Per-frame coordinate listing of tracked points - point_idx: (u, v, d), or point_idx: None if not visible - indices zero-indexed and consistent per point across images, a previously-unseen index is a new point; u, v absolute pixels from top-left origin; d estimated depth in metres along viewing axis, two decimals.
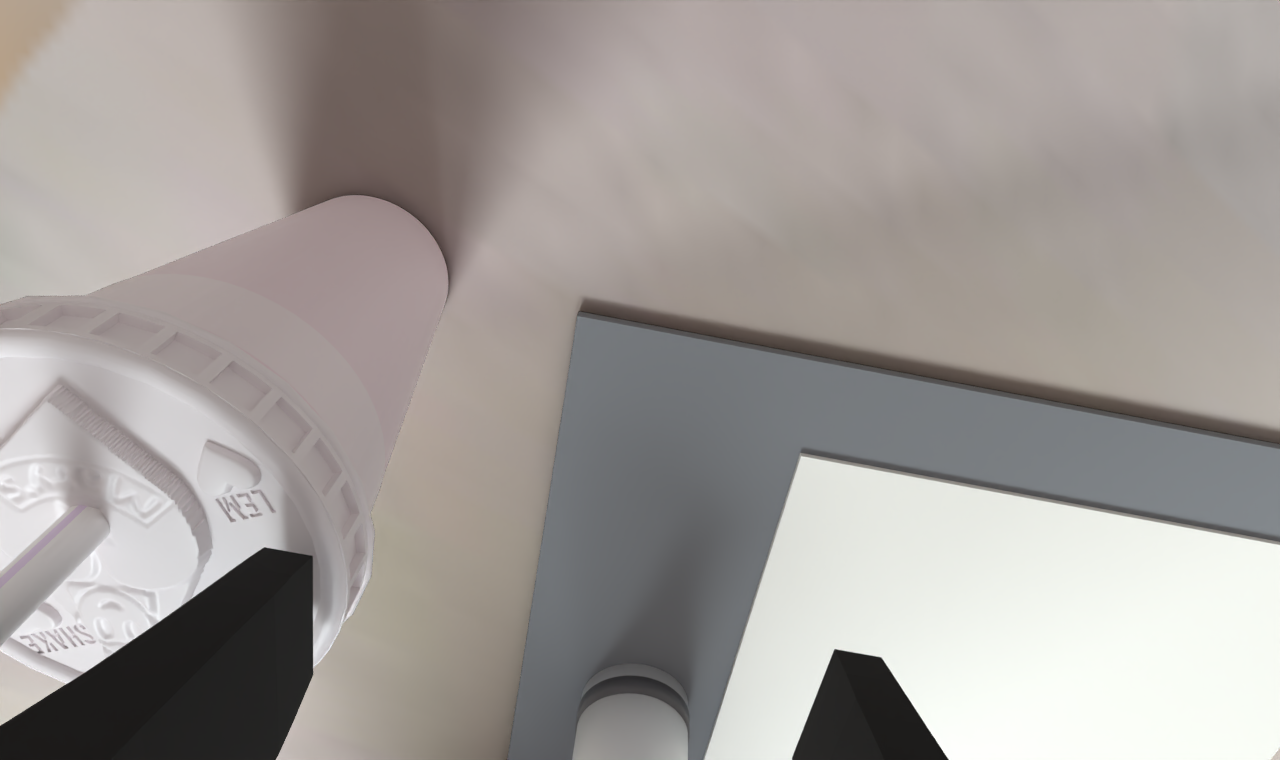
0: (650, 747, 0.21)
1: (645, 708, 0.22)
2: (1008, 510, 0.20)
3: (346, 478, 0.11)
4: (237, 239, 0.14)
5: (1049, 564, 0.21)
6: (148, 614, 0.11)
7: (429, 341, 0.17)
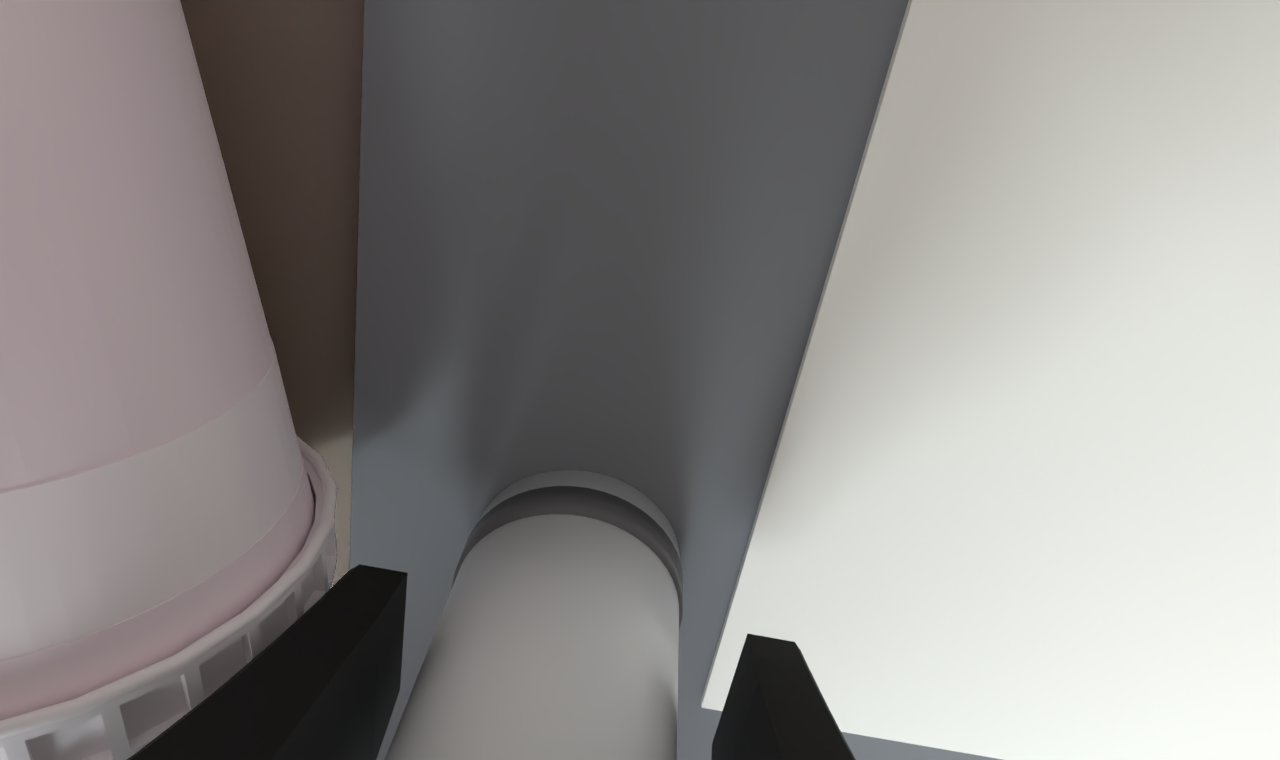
0: (592, 608, 0.09)
1: (587, 539, 0.10)
2: None
3: (324, 547, 0.10)
4: None
5: None
6: None
7: None
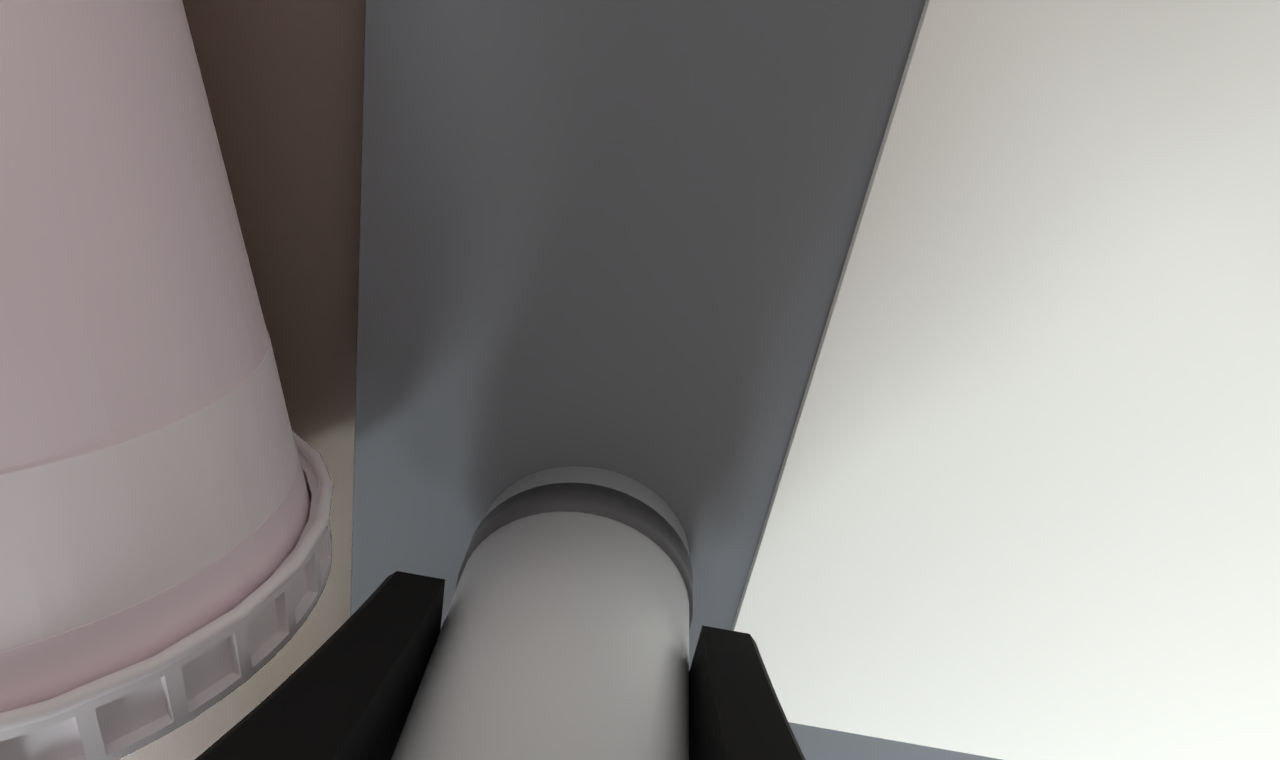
0: (602, 608, 0.09)
1: (596, 537, 0.10)
2: None
3: (318, 546, 0.09)
4: None
5: None
6: None
7: None
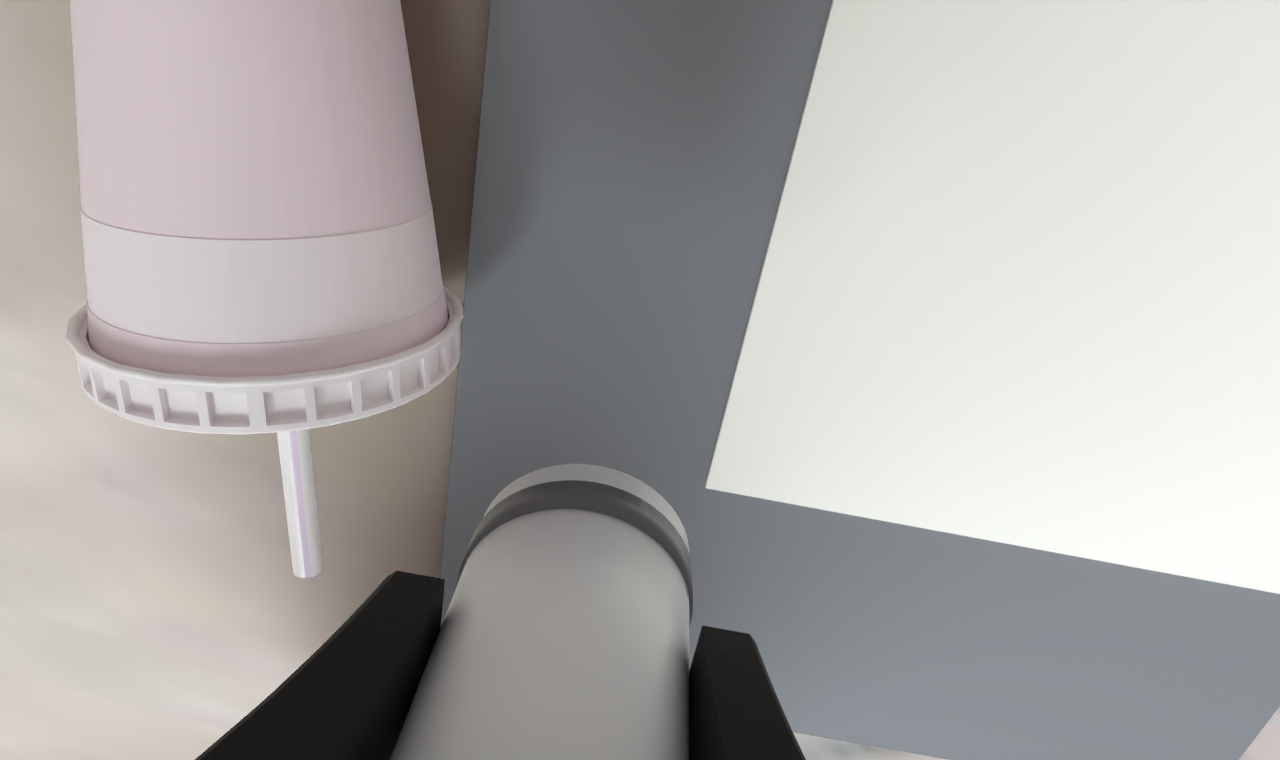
0: (602, 605, 0.09)
1: (596, 535, 0.10)
2: None
3: (458, 329, 0.15)
4: (199, 52, 0.11)
5: (1216, 96, 0.14)
6: None
7: None
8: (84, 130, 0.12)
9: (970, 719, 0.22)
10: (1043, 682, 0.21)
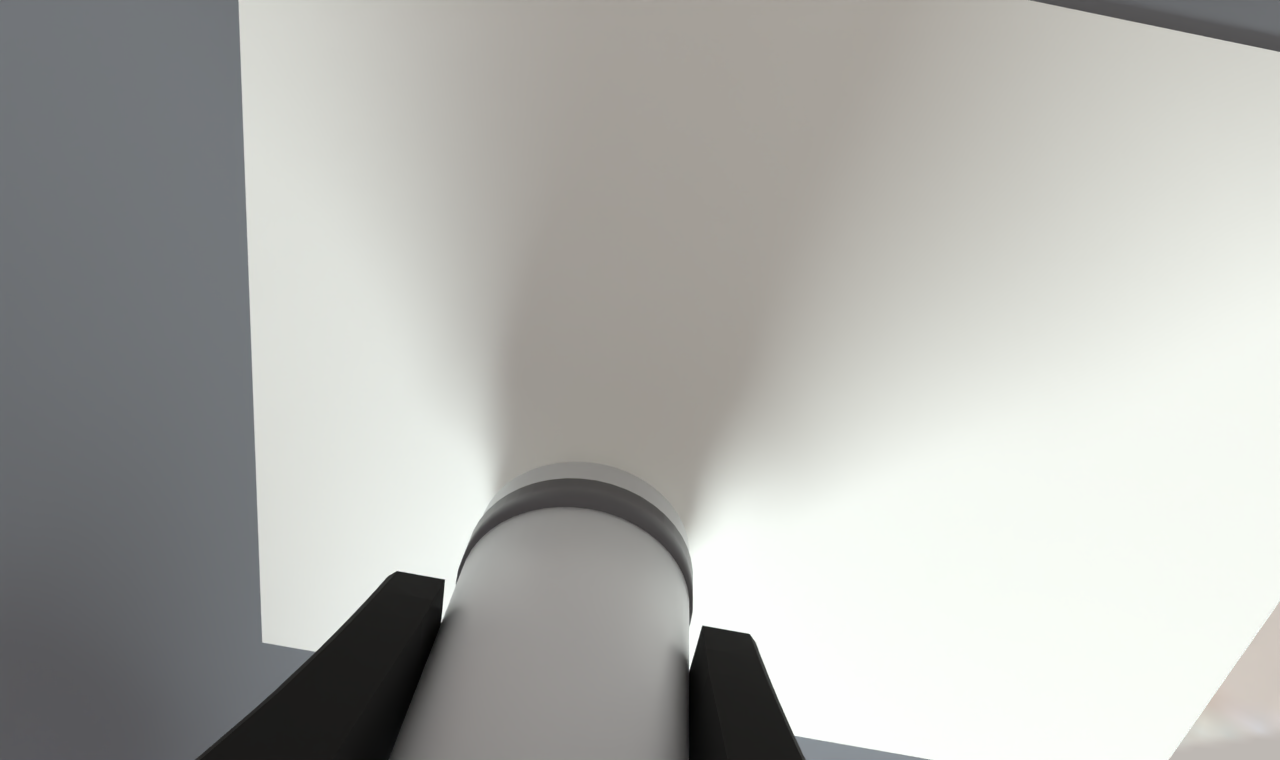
0: (602, 603, 0.09)
1: (596, 533, 0.10)
2: None
3: None
4: None
5: (820, 131, 0.10)
6: None
7: None
8: None
9: None
10: None
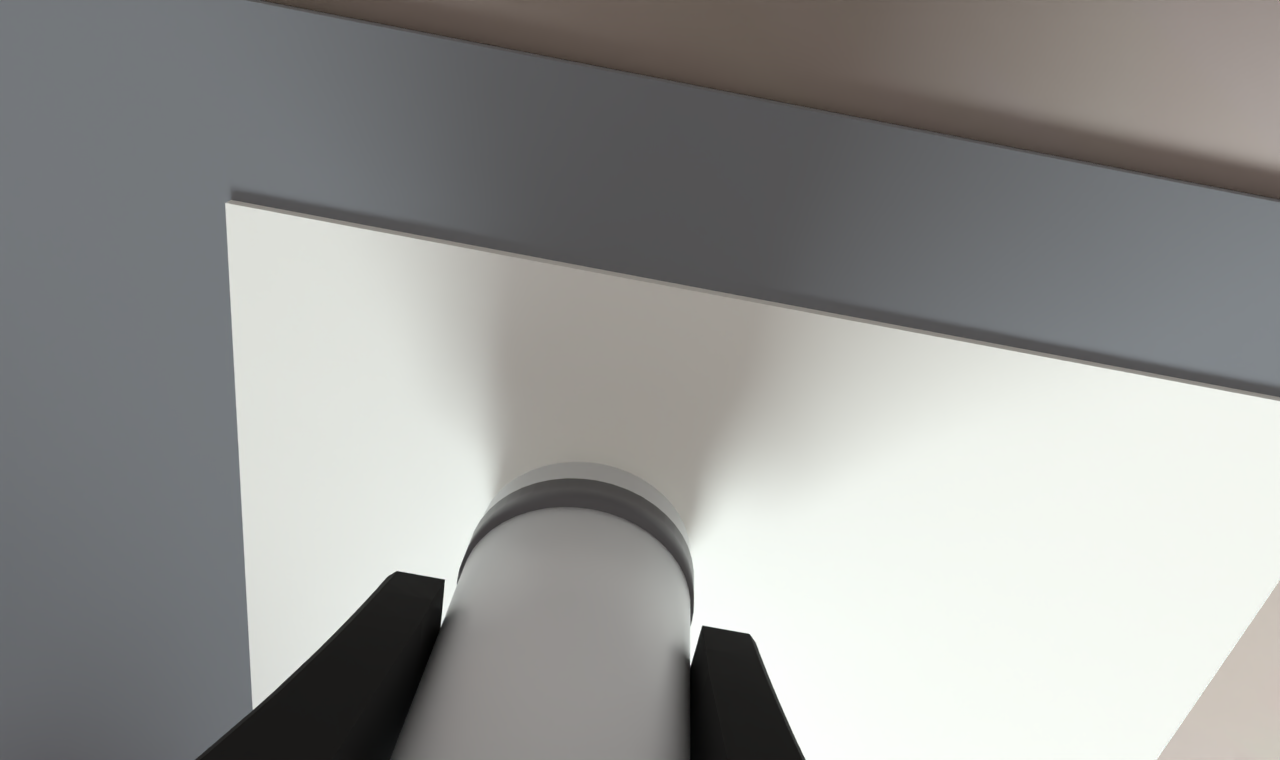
0: (603, 604, 0.09)
1: (597, 533, 0.10)
2: (628, 310, 0.11)
3: None
4: None
5: (724, 418, 0.12)
6: None
7: None
8: None
9: None
10: None
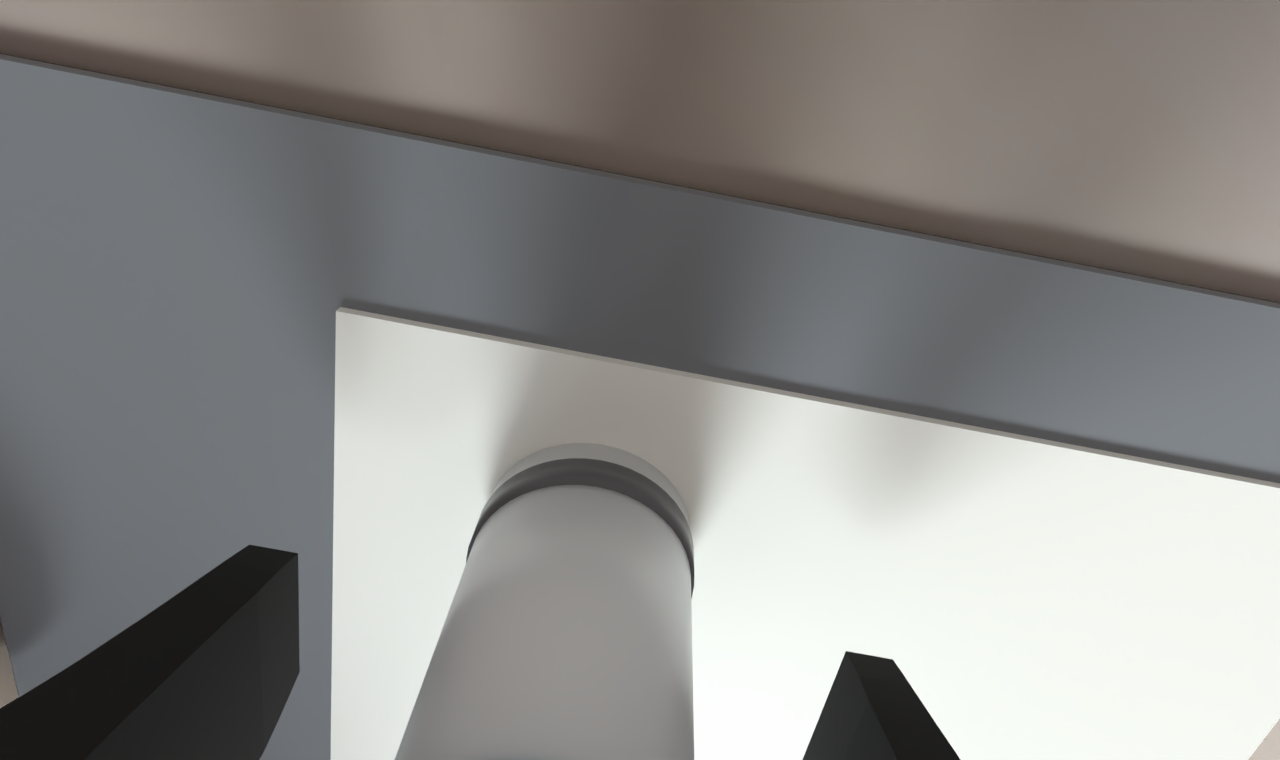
0: (610, 573, 0.10)
1: (602, 508, 0.11)
2: (714, 410, 0.12)
3: None
4: None
5: (800, 508, 0.12)
6: None
7: None
8: None
9: None
10: None
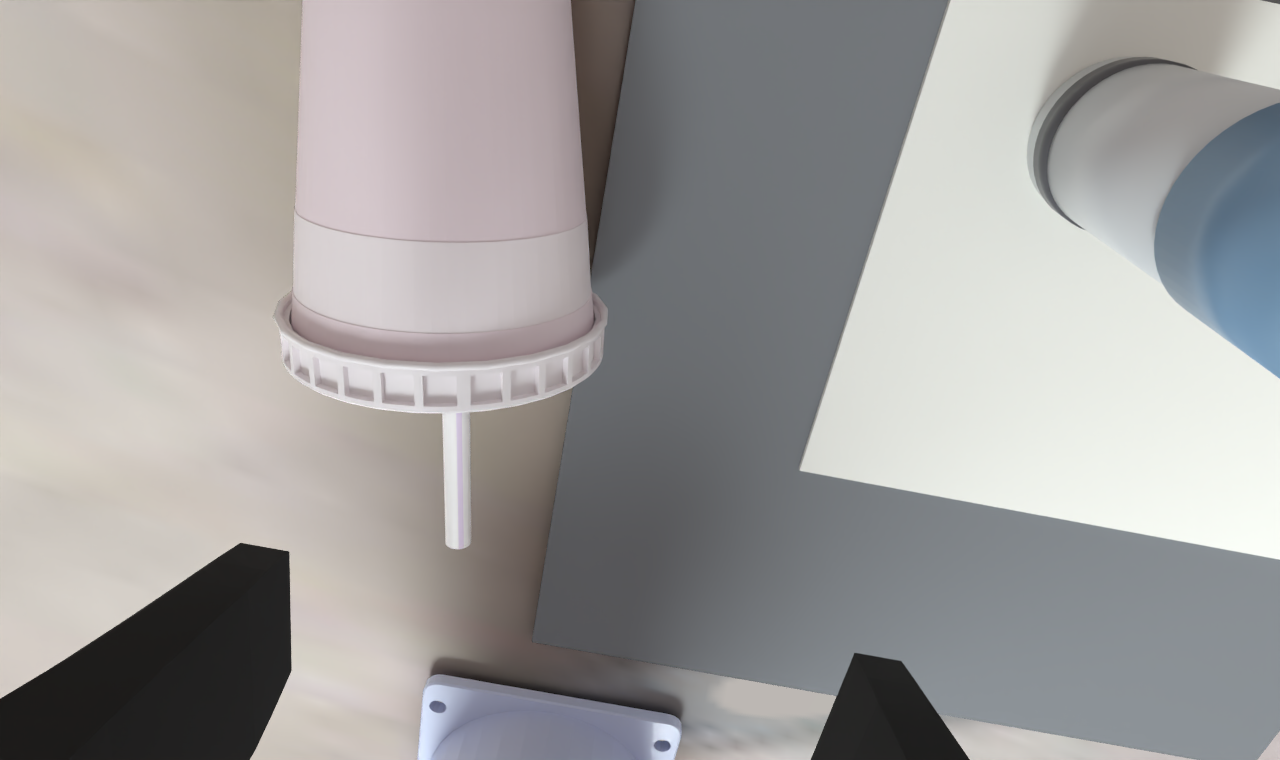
0: None
1: (1192, 69, 0.14)
2: (1238, 23, 0.16)
3: None
4: (435, 80, 0.12)
5: None
6: None
7: None
8: (317, 147, 0.13)
9: (1034, 688, 0.24)
10: (1104, 653, 0.23)
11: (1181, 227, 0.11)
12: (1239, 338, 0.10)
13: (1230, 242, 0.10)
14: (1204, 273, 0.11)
